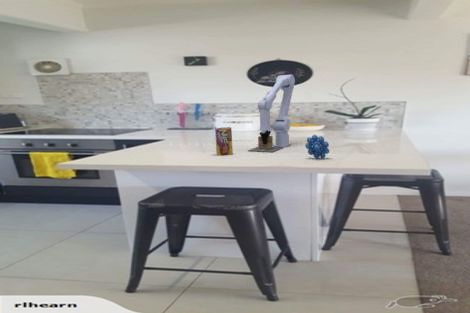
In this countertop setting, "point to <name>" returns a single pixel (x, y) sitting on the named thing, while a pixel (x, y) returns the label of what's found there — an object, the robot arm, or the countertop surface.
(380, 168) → the countertop surface
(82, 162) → the countertop surface
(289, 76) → the robot arm
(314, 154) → the blue knobbed wheel
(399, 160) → the countertop surface
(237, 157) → the countertop surface
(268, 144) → the walnut block
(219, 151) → the candy box
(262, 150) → the mat
